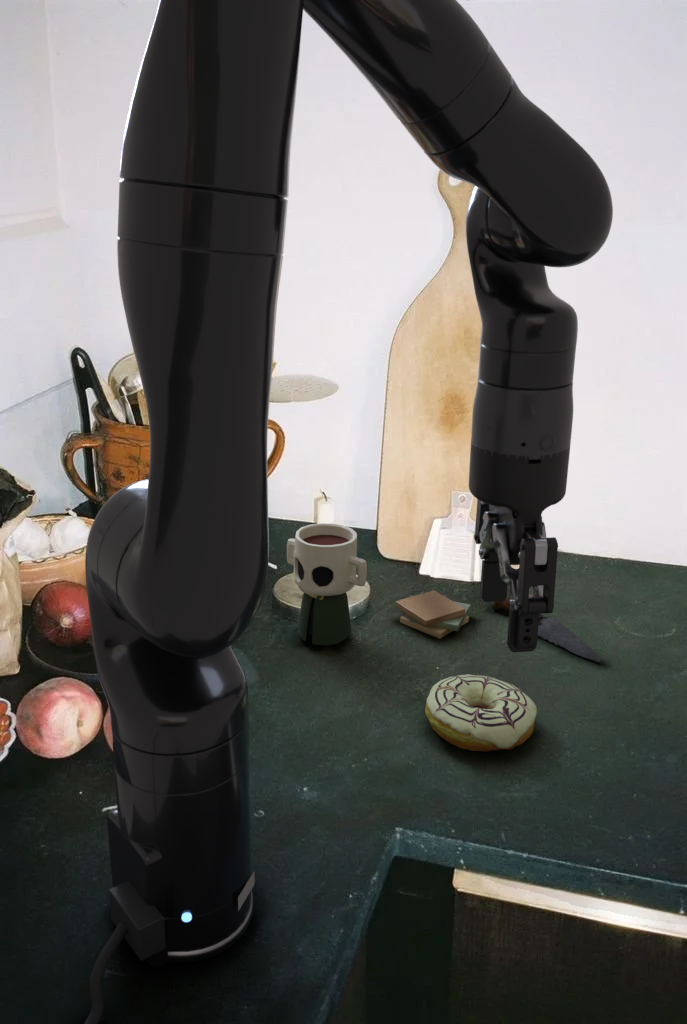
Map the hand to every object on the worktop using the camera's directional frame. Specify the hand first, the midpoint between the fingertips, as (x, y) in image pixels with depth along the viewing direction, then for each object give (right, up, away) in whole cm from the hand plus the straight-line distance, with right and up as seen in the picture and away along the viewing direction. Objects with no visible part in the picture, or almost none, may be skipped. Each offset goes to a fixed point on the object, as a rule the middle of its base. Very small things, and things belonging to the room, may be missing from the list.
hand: (506, 623), depth 78 cm
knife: (+11, -5, +34) cm, 36 cm away
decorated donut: (0, -12, +15) cm, 20 cm away
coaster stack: (-2, -4, +36) cm, 36 cm away
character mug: (-16, -6, +32) cm, 36 cm away
